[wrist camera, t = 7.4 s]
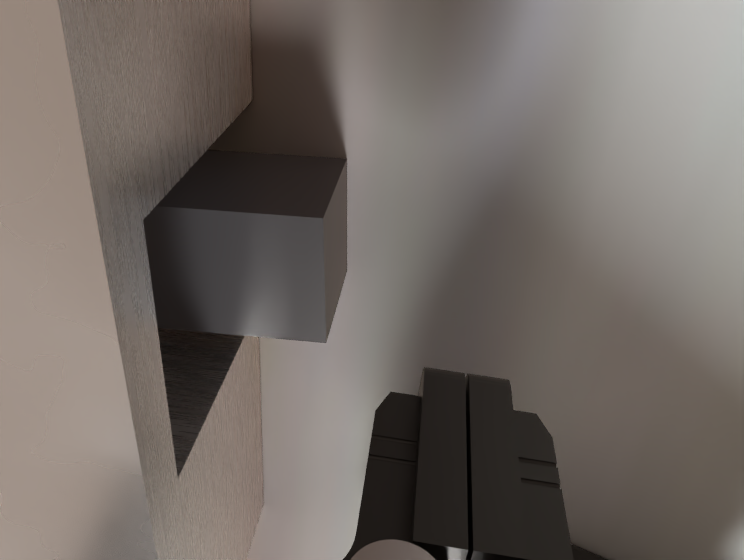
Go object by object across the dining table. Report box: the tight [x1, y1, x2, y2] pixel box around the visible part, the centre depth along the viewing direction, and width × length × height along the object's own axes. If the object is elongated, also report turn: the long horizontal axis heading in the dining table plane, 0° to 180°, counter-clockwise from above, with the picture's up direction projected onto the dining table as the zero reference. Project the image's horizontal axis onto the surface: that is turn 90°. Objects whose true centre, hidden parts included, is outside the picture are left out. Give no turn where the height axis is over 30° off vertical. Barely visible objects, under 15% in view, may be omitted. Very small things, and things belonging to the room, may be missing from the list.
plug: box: [143, 150, 347, 343], centre depth 14 cm, size 13×4×5 cm, turn 89°
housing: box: [0, 0, 264, 560], centre depth 13 cm, size 4×22×7 cm, turn 176°
